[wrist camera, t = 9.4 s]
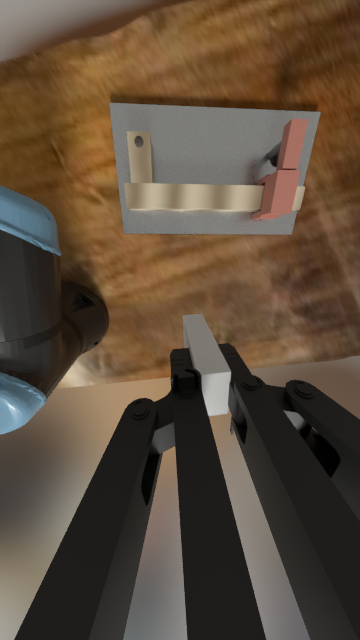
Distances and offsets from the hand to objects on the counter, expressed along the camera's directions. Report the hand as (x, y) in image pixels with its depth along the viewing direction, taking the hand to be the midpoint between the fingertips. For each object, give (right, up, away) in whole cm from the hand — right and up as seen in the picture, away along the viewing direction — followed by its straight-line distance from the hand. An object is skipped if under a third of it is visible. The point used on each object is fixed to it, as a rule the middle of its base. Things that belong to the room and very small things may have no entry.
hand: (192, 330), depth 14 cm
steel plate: (+4, +24, +15) cm, 28 cm away
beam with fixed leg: (+4, +23, +14) cm, 28 cm away
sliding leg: (+13, +23, +15) cm, 30 cm away
